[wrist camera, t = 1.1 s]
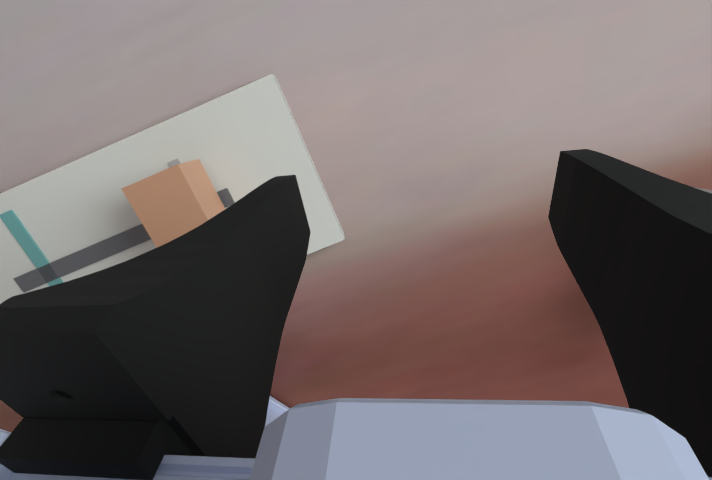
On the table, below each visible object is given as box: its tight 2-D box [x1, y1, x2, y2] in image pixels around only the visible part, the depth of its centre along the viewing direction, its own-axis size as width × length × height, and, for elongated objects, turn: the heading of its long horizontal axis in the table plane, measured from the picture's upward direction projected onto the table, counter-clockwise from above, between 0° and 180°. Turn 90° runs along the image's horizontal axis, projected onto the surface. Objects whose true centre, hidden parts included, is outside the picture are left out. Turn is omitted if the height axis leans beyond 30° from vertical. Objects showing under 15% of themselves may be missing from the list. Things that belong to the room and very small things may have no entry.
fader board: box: [0, 74, 345, 304], centre depth 23 cm, size 24×10×2 cm, turn 112°
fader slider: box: [121, 159, 225, 248], centre depth 20 cm, size 3×5×3 cm, turn 22°
